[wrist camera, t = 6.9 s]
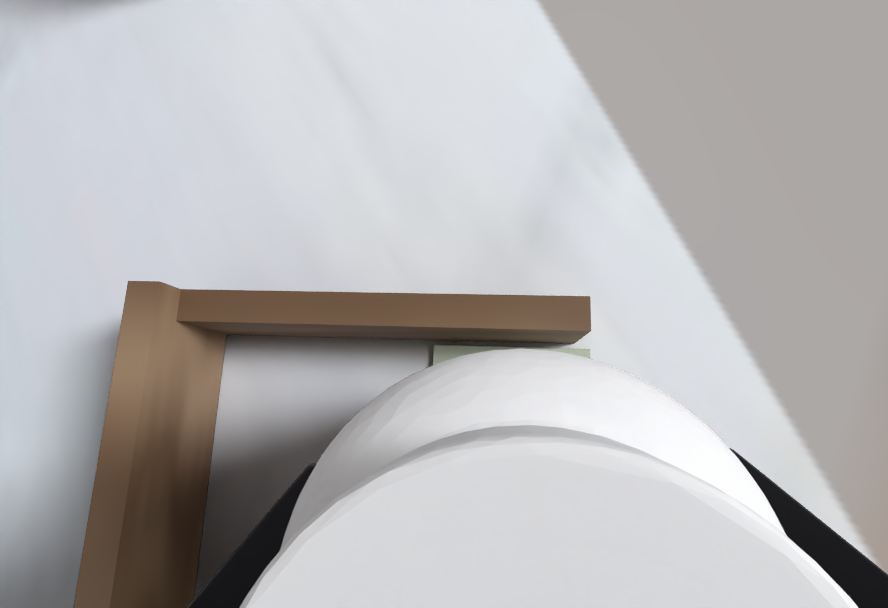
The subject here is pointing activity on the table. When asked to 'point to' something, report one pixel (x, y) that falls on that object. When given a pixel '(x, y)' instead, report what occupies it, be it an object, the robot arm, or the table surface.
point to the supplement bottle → (534, 501)
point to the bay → (196, 401)
